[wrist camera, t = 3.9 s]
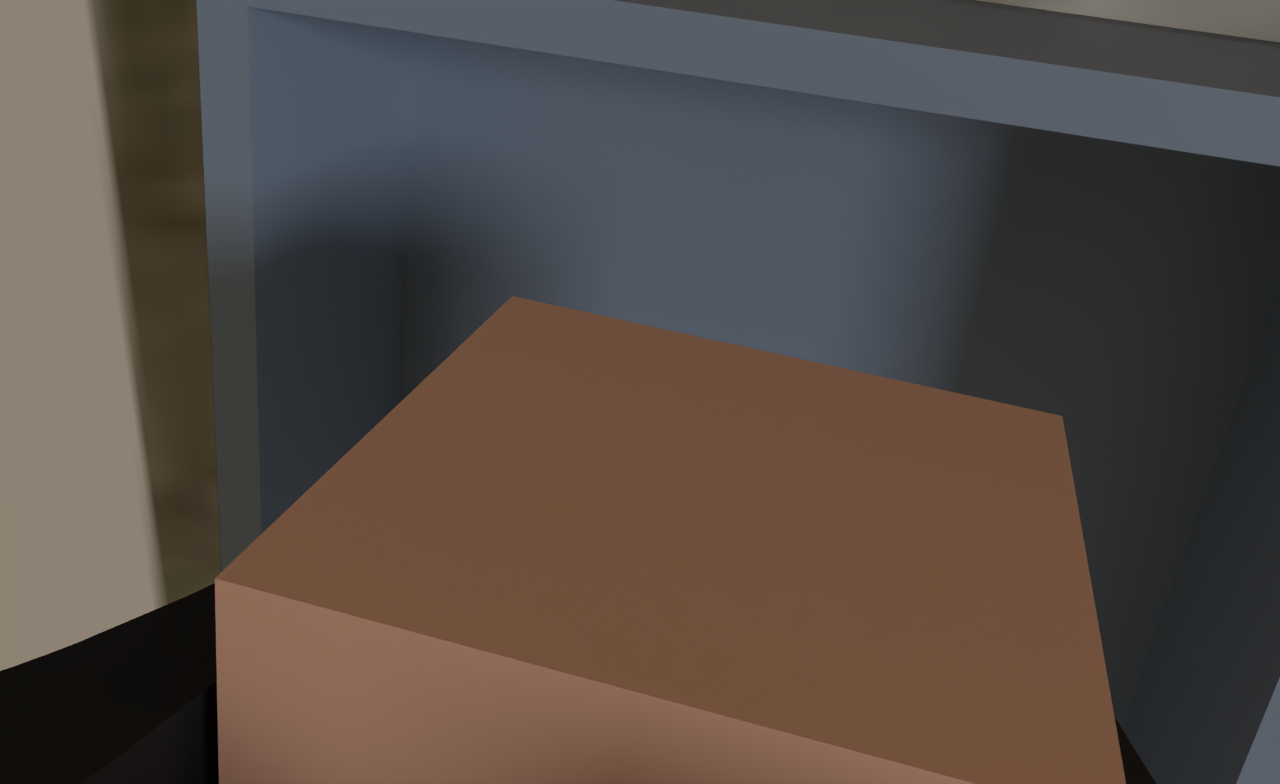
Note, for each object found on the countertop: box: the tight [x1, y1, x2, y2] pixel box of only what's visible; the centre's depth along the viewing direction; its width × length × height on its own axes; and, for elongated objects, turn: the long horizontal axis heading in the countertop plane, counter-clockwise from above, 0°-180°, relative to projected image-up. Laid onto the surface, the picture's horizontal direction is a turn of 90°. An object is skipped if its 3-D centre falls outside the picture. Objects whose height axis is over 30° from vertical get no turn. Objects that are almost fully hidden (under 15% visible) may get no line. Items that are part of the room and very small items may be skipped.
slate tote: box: [196, 0, 1280, 784], centre depth 17 cm, size 17×13×5 cm
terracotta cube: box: [215, 296, 1126, 784], centre depth 10 cm, size 5×5×5 cm
